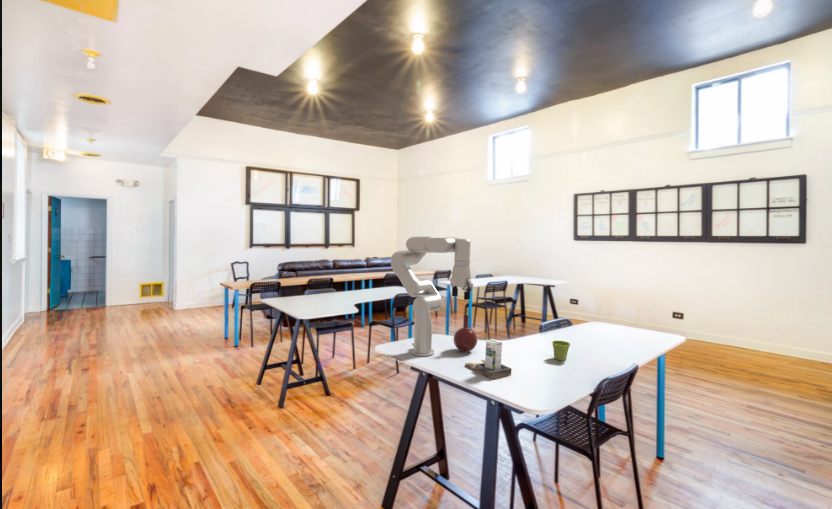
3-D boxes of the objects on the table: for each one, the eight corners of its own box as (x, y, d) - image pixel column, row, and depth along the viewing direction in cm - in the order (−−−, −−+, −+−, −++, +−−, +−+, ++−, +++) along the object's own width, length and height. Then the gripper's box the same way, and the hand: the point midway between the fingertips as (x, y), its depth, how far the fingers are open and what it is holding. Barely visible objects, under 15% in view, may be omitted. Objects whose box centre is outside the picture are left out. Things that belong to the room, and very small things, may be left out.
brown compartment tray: (465, 366, 213) (465, 359, 213) (483, 362, 219) (483, 356, 219) (492, 379, 196) (492, 372, 196) (511, 374, 202) (511, 368, 202)
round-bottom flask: (476, 355, 230) (478, 319, 228) (452, 353, 232) (453, 317, 230) (477, 348, 242) (478, 314, 241) (453, 346, 244) (455, 312, 243)
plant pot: (570, 362, 223) (571, 346, 222) (552, 360, 225) (552, 344, 224) (568, 356, 232) (569, 341, 231) (550, 355, 234) (550, 339, 233)
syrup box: (484, 370, 205) (485, 340, 203) (491, 367, 209) (493, 338, 207) (493, 373, 200) (494, 343, 199) (501, 370, 204) (502, 341, 203)
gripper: (445, 262, 215) (444, 295, 217) (467, 265, 201) (465, 301, 202) (457, 261, 219) (456, 294, 221) (479, 265, 205) (477, 300, 206)
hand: (460, 297), depth 212 cm, fingers open, 9 cm apart
